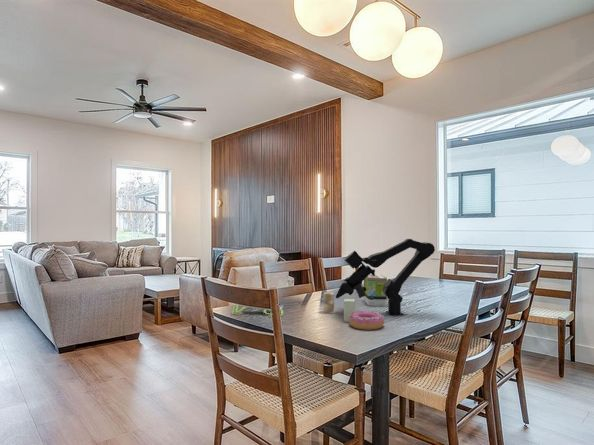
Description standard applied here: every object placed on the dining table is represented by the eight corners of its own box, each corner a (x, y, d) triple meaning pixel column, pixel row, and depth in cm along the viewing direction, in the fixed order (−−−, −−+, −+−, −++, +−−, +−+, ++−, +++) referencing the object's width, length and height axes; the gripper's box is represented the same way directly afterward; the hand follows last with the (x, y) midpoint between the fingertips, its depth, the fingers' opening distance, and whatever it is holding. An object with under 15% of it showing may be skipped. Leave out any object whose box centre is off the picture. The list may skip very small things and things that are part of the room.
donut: (390, 326, 157) (390, 314, 157) (371, 333, 147) (370, 320, 147) (362, 320, 167) (362, 308, 167) (342, 326, 157) (342, 314, 157)
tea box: (387, 306, 193) (387, 277, 194) (367, 306, 194) (367, 277, 194) (381, 300, 209) (381, 273, 209) (363, 300, 209) (363, 273, 209)
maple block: (334, 311, 183) (334, 292, 183) (333, 313, 179) (332, 294, 179) (325, 310, 184) (324, 292, 184) (323, 312, 180) (323, 294, 180)
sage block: (354, 319, 167) (354, 299, 167) (354, 322, 162) (354, 301, 162) (344, 319, 168) (344, 298, 168) (343, 321, 163) (343, 300, 163)
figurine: (242, 306, 195) (242, 296, 195) (292, 310, 187) (291, 298, 187) (226, 315, 178) (226, 303, 178) (279, 319, 170) (279, 306, 170)
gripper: (371, 291, 168) (346, 314, 170) (372, 284, 186) (349, 306, 189) (353, 273, 170) (329, 296, 172) (356, 268, 188) (334, 289, 190)
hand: (336, 297), depth 181 cm, fingers closed
